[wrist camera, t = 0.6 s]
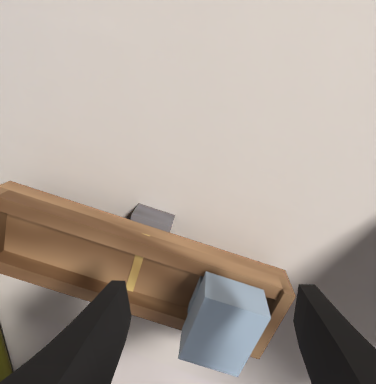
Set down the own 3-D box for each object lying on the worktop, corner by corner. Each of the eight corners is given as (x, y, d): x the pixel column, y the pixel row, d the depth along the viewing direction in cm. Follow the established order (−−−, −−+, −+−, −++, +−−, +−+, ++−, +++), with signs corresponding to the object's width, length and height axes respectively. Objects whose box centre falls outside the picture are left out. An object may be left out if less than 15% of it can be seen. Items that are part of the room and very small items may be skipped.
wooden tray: (248, 314, 25) (256, 363, 20) (19, 241, 24) (-25, 276, 19) (281, 250, 22) (299, 290, 18) (27, 167, 21) (-21, 187, 17)
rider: (233, 332, 21) (237, 377, 18) (183, 316, 21) (178, 358, 18) (260, 279, 19) (271, 317, 16) (206, 261, 19) (205, 297, 16)
